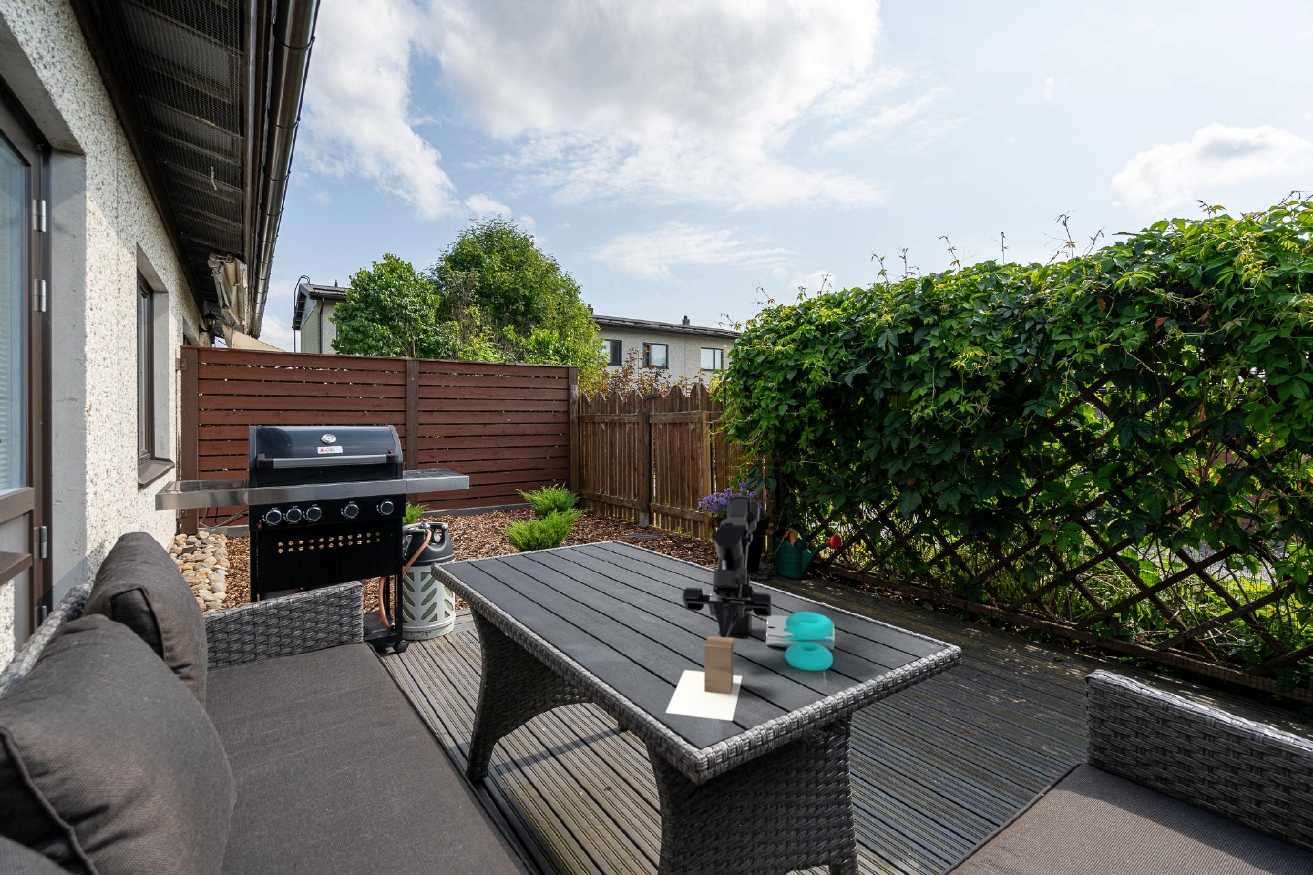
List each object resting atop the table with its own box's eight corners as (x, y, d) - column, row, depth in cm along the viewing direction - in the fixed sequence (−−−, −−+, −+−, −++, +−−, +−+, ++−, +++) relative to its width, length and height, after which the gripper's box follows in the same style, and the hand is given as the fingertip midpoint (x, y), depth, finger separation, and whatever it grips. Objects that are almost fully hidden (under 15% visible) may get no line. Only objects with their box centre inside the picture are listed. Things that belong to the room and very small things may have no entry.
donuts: (792, 626, 124) (780, 610, 134) (792, 674, 125) (779, 654, 135) (840, 625, 125) (824, 609, 135) (839, 673, 125) (823, 653, 135)
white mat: (684, 672, 126) (684, 670, 126) (742, 678, 123) (742, 675, 123) (665, 715, 108) (665, 712, 108) (732, 723, 105) (732, 720, 105)
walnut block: (708, 680, 121) (708, 636, 121) (733, 682, 120) (733, 638, 119) (704, 691, 116) (704, 645, 116) (730, 694, 115) (730, 648, 114)
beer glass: (830, 648, 141) (765, 642, 143) (831, 618, 142) (766, 612, 144) (834, 654, 134) (765, 647, 136) (835, 622, 135) (767, 616, 137)
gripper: (684, 550, 131) (673, 617, 121) (771, 555, 127) (768, 625, 117) (690, 576, 139) (681, 641, 129) (772, 582, 135) (769, 649, 125)
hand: (723, 639), depth 125 cm, fingers closed
